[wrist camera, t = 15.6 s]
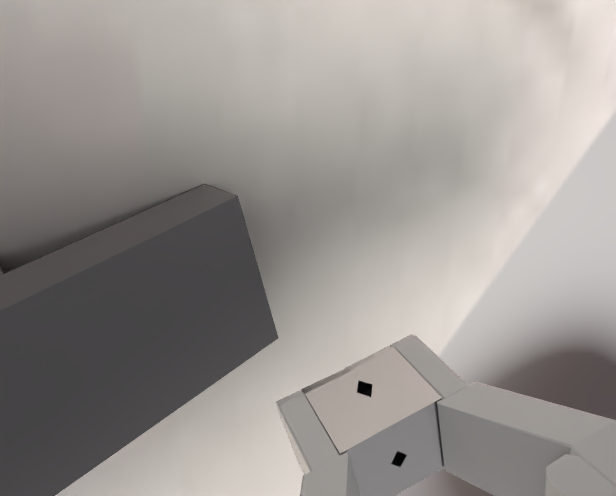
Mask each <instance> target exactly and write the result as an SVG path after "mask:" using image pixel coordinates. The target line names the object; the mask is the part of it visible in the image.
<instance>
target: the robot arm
mask: <svg viewBox="0 0 616 496" xmlns="http://www.w3.org/2000/svg"><path fill="white" fill-rule="evenodd" d="M276 404H277V408H278V410H279V413H280V416H281V419H282V421H283V424H284V427H285V429H286V432H287V435H288V438H289V440H290V443H291V445H292V448H293V450H294V452H295V455H296V457H297V460H298V462H299V465H300V467H301V469H302V471H303V473H304V476H303V479H302V486H301V493H300V496H396V495H397V494H399V493H400V492H401V491H403V490H405V489H407V488H409V487H411V486H412V485H414V484H416V483H418V482H420V481H421V480H423V479H425V478H427V477H428V476H430V475H432V474H434V473H436V472H438V471H439V470H441V469H443V468H445V471H447V472H449V473H451V474H453V475H455V476H457V477H459V478H461V479H463V480H465V481H467V482H469V483H471V484H473V485H475V486H477V487H479V488H481V489H483V490H485V491H487V492H489V493H491V494H493V495H495V496H616V420H612V419H608V418H605V417H601V416H598V415H594V414H590V413H586V412H583V411H580V410H576V409H572V408H569V407H565V406H562V405H558V404H554V403H550V402H547V401H544V400H540V399H536V398H533V397H529V396H525V395H522V394H518V393H515V392H511V391H507V390H504V389H500V388H497V387H493V386H489V385H485V384H482V383H479V382H473V383H471V384H469V385H468V384H467V383H466V382H465V381H464V380H463V379H462V378H460V376H458V375H457V374H456V373H455V372H454V371H453V370H452V369H451V368H450V367H449V366H448V365H446V364H445V363H444V361H442V360H441V359H440V358H439V357H438V356H437V355H436V354H435V353H434V352H433V351H432V350H431V349H430V348H429V347H427V346H426V345H425V344H424V343H423V342H422V341H421V340H420V339H419V338H418V337H417V336H414V335H412V334H411V335H409V336H407V337H405V338H403V339H401V340H400V341H398V342H396V343H394V344H392V345H390V346H387V347H385V348H384V349H382V350H380V351H378V352H376V353H374V354H372V355H370V356H368V357H366V358H364V359H362V360H360V361H358V362H356V363H354V364H352V365H350V366H348V367H347V368H346V369H344V370H342V371H339V372H337V373H335V374H333V375H331V376H329V377H327V378H324V379H322V380H320V381H318V382H316V383H314V384H312V385H309V386H307V387H305V388H303V389H301V391H298V392H296V393H294V394H291V395H289V396H287V397H285V398H283V399H281V400H279V401H277V402H276Z"/></svg>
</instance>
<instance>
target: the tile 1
mask: <svg viewBox="0 0 616 496" xmlns="http://www.w3.org/2000/svg"><path fill="white" fill-rule="evenodd" d="M276 339H278V336H277V332H276V329H275V325H274V322H273V318H272V315H271V311H270V308H269V304H268V301H267V297H266V294H265V290H264V287H263V283H262V280H261V276H260V273H259V269H258V266H257V262H256V259H255V255H254V252H253V248H252V245H251V241H250V238H249V234H248V231H247V227H246V224H245V220H244V217H243V213H242V210H241V206H240V203H239V199H238V196H236V195H233V194H231V193H228V192H225V191H222V190H220V189H217V188H214V187H211V186H209V185H206V184H203V185H201V186H199V187H197V188H194V189H192V190H190V191H188V192H186V193H183V194H181V195H179V196H177V197H174V198H172V199H170V200H168V201H165V202H163V203H161V204H159V205H157V206H154V207H152V208H150V209H148V210H145V211H143V212H141V213H139V214H136V215H134V216H132V217H130V218H128V219H125V220H123V221H121V222H119V223H116V224H114V225H112V226H110V227H108V228H105V229H103V230H101V231H99V232H96V233H94V234H92V235H90V236H87V237H85V238H83V239H81V240H79V241H76V242H74V243H72V244H70V245H67V246H65V247H63V248H61V249H58V250H56V251H54V252H52V253H50V254H47V255H45V256H43V257H41V258H38V259H36V260H34V261H32V262H29V263H27V264H25V265H23V266H21V267H18V268H16V269H14V270H12V271H9V272H7V273H5V274H3V275H1V276H0V496H55V495H56V494H58V493H59V492H60V491H62V490H63V489H65V488H66V487H68V486H69V485H70V484H72V483H73V482H75V481H76V480H77V479H79V478H80V477H82V476H83V475H85V474H86V473H87V472H89V471H90V470H92V469H93V468H94V467H96V466H97V465H99V464H100V463H102V462H103V461H104V460H106V459H107V458H109V457H110V456H112V455H113V454H114V453H116V452H117V451H119V450H120V449H121V448H123V447H124V446H126V445H127V444H129V443H130V442H131V441H133V440H134V439H136V438H137V437H138V436H140V435H141V434H143V433H144V432H146V431H147V430H148V429H150V428H151V427H153V426H154V425H156V424H157V423H158V422H160V421H161V420H163V419H164V418H165V417H167V416H168V415H170V414H171V413H173V412H174V411H175V410H177V409H178V408H180V407H181V406H182V405H184V404H185V403H187V402H188V401H190V400H191V399H192V398H194V397H195V396H197V395H198V394H200V393H201V392H202V391H204V390H205V389H207V388H208V387H209V386H211V385H212V384H214V383H215V382H217V381H218V380H219V379H221V378H222V377H224V376H225V375H226V374H228V373H229V372H231V371H232V370H234V369H235V368H236V367H238V366H239V365H241V364H242V363H244V362H245V361H246V360H248V359H249V358H251V357H252V356H253V355H255V354H256V353H258V352H259V351H261V350H262V349H263V348H265V347H266V346H268V345H269V344H270V343H272V342H273V341H275V340H276Z"/></svg>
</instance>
